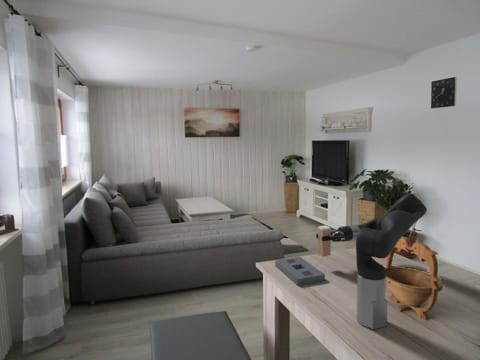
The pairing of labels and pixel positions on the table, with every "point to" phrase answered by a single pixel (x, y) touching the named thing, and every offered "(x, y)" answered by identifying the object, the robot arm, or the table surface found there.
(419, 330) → the table surface
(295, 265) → the grey flat rectangular block
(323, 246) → the plug
